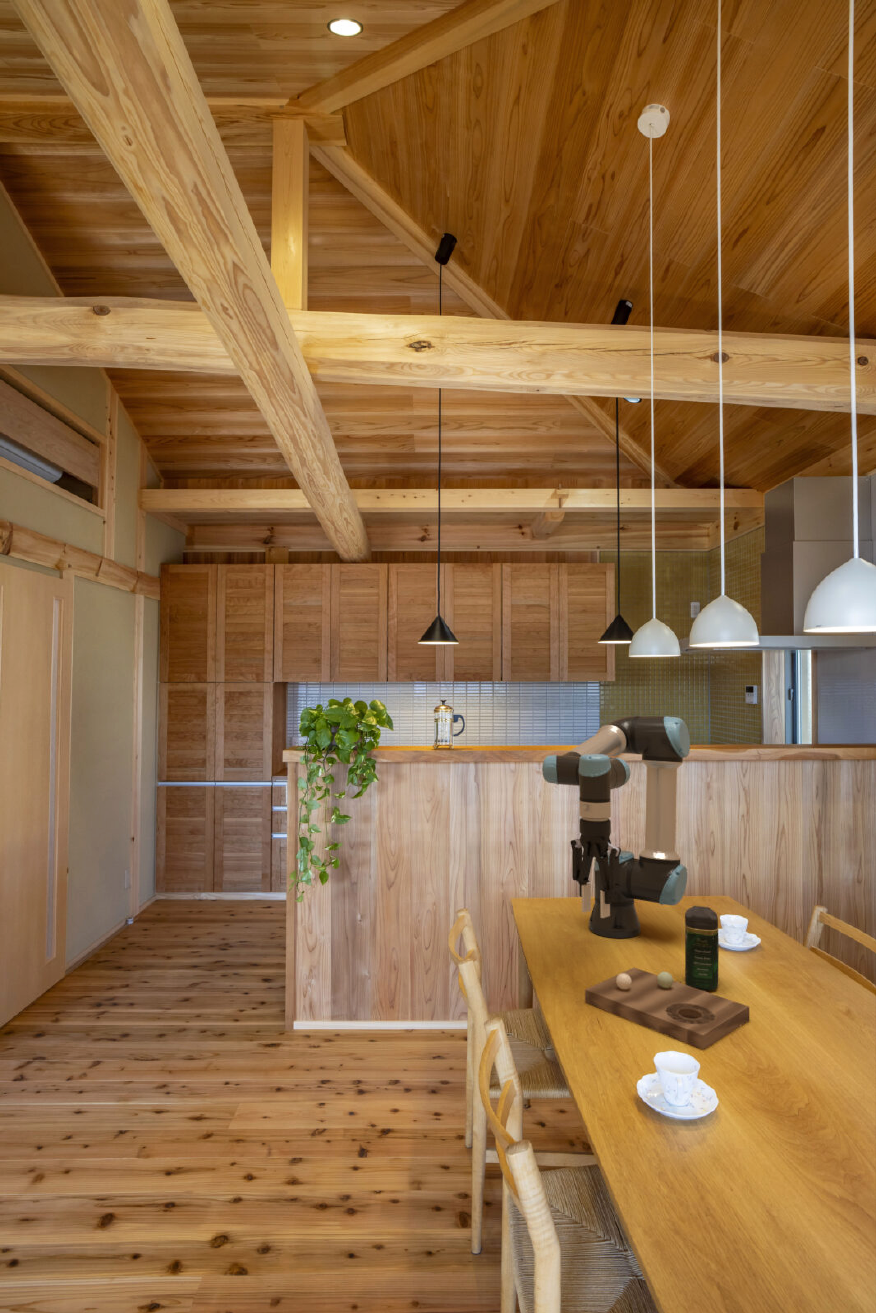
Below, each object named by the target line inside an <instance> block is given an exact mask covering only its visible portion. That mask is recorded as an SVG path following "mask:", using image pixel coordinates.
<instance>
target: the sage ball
mask: <svg viewBox="0 0 876 1313" xmlns="http://www.w3.org/2000/svg"><path fill="white" fill-rule="evenodd" d="M657 975H658V977H657V981H658V984H659V985H660V986H661V987H663V988H669V987H671V986H672V984H673V981H674V977H673V976H672V974H670V973H669V972H668V971H661V972H660V973H658V974H657Z"/></svg>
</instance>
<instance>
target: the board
mask: <svg viewBox="0 0 876 1313" xmlns="http://www.w3.org/2000/svg"><path fill="white" fill-rule="evenodd" d="M621 973H625V974H628V975H629V976H630V978H631V980H632V985H631V987H630V988H629V989H627V990H623V989H620V988H619V987H618V986H617V983H616V978H617V976H618V975H619V974H621ZM621 973H619V974H616V975H614V976H612V977H609V978H607V979H605V980H603V981H601V982H598V983H597V984H594V985H592V986H589V987H587V988H586V989H584V1003H585V1004H588V1005H591V1006H594V1007H596V1008H598V1009H600V1010H603V1011H606V1012H607V1013H610V1012H611V1013H610V1014H612V1015H616V1016H618V1017H620V1016H621V1017H620V1018H623V1017H624V1018H623V1019H625V1018H626V1019H625V1020H627V1019H628V1020H627V1021H630V1022H632V1021H633V1023H636V1024H638V1025H640V1026H642V1025H643V1026H642V1027H645V1026H646V1027H645V1028H647V1027H648V1028H647V1029H650V1030H653V1031H655V1032H657V1031H658V1033H661V1034H662V1035H665V1034H666V1035H665V1036H667V1035H668V1036H667V1037H671V1038H673V1039H675V1040H678V1041H679V1042H683V1043H685V1044H687V1045H689V1046H692V1047H695V1048H697V1049H699V1050H702V1051H705V1050H706V1049H707V1048H709V1047H710V1046H712V1045H714V1044H715V1043H717V1042H718V1041H720V1040H721V1039H723V1038H724V1037H726V1036H728V1035H729V1034H731V1033H732V1032H733V1031H735V1030H737V1029H738V1028H740V1027H741V1026H743V1025H745V1024H746V1023H748V1022H749V1021H750V1006H749V1005H745V1004H743V1003H739V1002H737V1001H734V1000H732V999H728V998H726V997H722V996H720V995H716V994H714V993H710V992H707V991H702V990H699V989H696V988H693V987H690V986H687V984H685V983H681V982H678V981H676V980H675V981H674V980H673V984H672V986H671V987H669V988H663V987H661V986H660V985H659V984H658V981H657V977H658V975H659V974H654V973H652V972H649V971H646V970H643V969H639V968H637V967H632V968H629V969H627V970H625V971H623V972H621ZM740 1025H741V1026H740Z"/></svg>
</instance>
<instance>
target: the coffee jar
mask: <svg viewBox="0 0 876 1313" xmlns="http://www.w3.org/2000/svg"><path fill="white" fill-rule="evenodd" d="M684 918H685V919H684V938H685V939H684V955H685V956H684V959H685V960H684V961H685V962H684V963H685V964H684V965H685V966H684V973H685V975H684V979H685V983H686V984H685V985H687V986H690V987H693V988H696V989H699V990H702V991H705V992H707V991H716V990H717V989H718V987H719V954H720V953H719V950H720V949H719V947H720V945H719V942H720V940H719V918H718V914H717V913H716V911H714V910H713V909H711V907H707V906H701V905H693V906H692V907H690V908H688V909H687V910H686V912H685V916H684Z"/></svg>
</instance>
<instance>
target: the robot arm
mask: <svg viewBox="0 0 876 1313" xmlns="http://www.w3.org/2000/svg"><path fill="white" fill-rule="evenodd" d="M690 749H691V739H690V734H689V729H688V727H687V724H686V723H685V721H684V720H683V719H682V718H680V717H676V716H668V715H667V716H659V715H657V716H656V715H655V716H651V715H650V716H649V715H629V716H625V717H620V718H618V719H615V720H612V721H610V722H608V723H606V724H605V725H604V724H603V726H602V727H600V728H599V729H598V730H597V732H596V733H595V735H593V736H592V737H590V738H588V739H587V740H585V741H584V742H582V743H580V744H578V745H577V746H575V747H574V748H573V749H571V750H569V751H567V752H566V753H564V754H562V755H557V754H553V755H547V756H546V757H545V758H544V760H543V761H542V766H541V767H542V768H541V770H542V771H541V772H542V777H543V779H544V781H545V782H547V783H548V784H549V783H550V784H553V785H554V784H555V785H561V786H562V785H563V786H564V785H565V786H577V787H578V788H579V790H578V791H579V796H578V798H579V799H578V800H579V817H580V818H579V819H578V820H579V833H580V837H579V838H576V839H572V840H570V846H571V849H572V852H571V853H572V857H571V858H572V859H571V860H572V861H571V862H572V865H571V866H572V869H571V870H572V872H571V874H572V880H573V881H576V882H577V883H578V886H579V887H578V888H579V890H578V891H579V894H578V895H579V897H580V898H581V913H587V912H590V916H589V919H588V929H589V931H590V932H591V933H594V934H596V935H597V936H601V937H605V938H613V939H628V938H633V937H637V936H639V935H640V934H641V923H640V920H639V916H638V913H637V910H636V907H635V900H636V901H637V900H639V901H644V902H649V903H654V904H659V905H662V906H663V905H664V906H665V905H667V906H676V905H678V904H679V903H680V902H681V901H682V899H683V897H684V894H685V891H686V888H687V882H688V868H687V867H686V866H685V865H683V864H682V863H681V857H680V855H679V854H678V853H677V851H676V830H677V827H676V825H677V824H676V823H677V789H678V787H677V786H678V784H677V781H678V768H679V767H680V766H682V765H683V761H684V758H687V757H688V756H689V754H690ZM622 754H629V755H630V754H632V755H640V756H641V762H642V763H643V764H644V765H645V767H646V787H645V789H646V790H645V791H646V792H645V822H644V823H645V826H644V827H645V828H644V830H645V831H644V848H643V850H642V851H640V853H638V858H636V857H635V854H634V852H633V851H630V850H622V848H621V847H620V846H617V847H616V846H614V844H612V841H611V838H610V836H611V833H612V827H611V826H612V825H611V824H612V821H611V819H610V818H611V817H612V814H611V809H612V808H611V807H612V806H611V804H612V803H611V799H612V798H611V790H614V789H618V788H621V787H623V786H624V785H626V784H627V783H628V782H629V780H630V778H631V768H630V765H629V764H628V762H627V761H625V760H624V759H623V758H620V757H616V756H619V755H622ZM593 859H594V869H593V873H594V877H593V878H594V880H593V881H594V882H593V883H594V904H593V907H592V884H591V883H590V880H589V879H590V874H591V869H592V864H593Z"/></svg>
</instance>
